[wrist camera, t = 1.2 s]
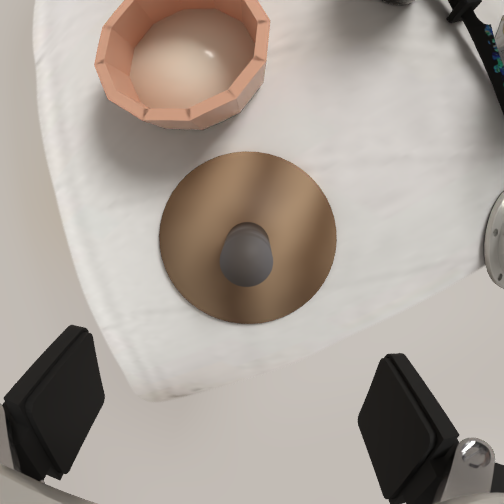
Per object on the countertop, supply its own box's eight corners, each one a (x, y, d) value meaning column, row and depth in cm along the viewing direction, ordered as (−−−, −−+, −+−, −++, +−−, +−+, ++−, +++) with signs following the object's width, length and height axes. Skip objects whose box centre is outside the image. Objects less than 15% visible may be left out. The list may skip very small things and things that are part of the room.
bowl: (270, 9, 21) (275, -25, 15) (258, 134, 24) (259, 125, 18) (139, 11, 20) (115, -18, 15) (119, 129, 24) (85, 123, 18)
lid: (344, 163, 25) (369, 164, 19) (318, 323, 29) (332, 359, 23) (167, 146, 25) (143, 142, 19) (162, 309, 29) (143, 342, 23)
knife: (386, -69, 15) (402, -87, 11) (405, -69, 15) (423, -85, 11) (499, 173, 26) (524, 181, 22) (512, 164, 26) (537, 172, 21)
